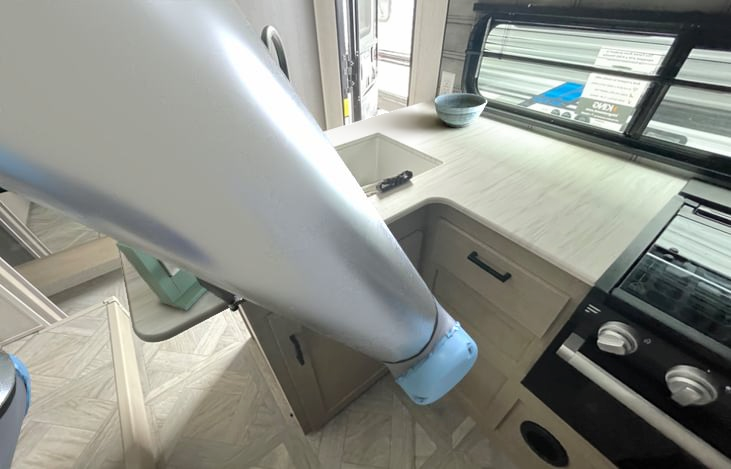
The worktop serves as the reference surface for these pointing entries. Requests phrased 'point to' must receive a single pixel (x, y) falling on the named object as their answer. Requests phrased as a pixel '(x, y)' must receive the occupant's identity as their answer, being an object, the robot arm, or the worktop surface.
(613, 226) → the worktop surface
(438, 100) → the bowl
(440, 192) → the worktop surface
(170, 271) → the protruding squarish ivory block
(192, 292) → the pale green angular block
